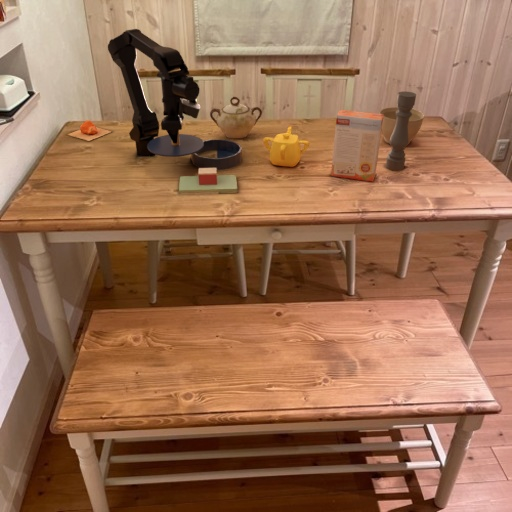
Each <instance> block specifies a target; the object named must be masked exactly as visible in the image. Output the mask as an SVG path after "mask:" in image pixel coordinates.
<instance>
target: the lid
mask: <svg viewBox="0 0 512 512" xmlns="http://www.w3.org/2000/svg"><path fill="white" fill-rule="evenodd" d="M203 141H204V140H203V139H201V137H198V136H195V135H193V134H187V133H186V134H185V133H180V130H178V139H177V143H173V141H172V139H171V138H170V136H169V134H165V135H161V136H158V137H154V139H153V140H151V141H150V142H149V143H148V145H147V147H148V150H149V151H150V152H152V153H154V154H155V156H156V155H157V156H161V157H166V158H167V157H168V158H169V157H170V158H180V157H185V156H191V154H194V153H196V152H198V151H200V150H201V149H202V148H203V147H204V142H203Z"/></svg>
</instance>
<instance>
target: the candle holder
mask: <svg viewBox="0 0 512 512" xmlns="http://www.w3.org/2000/svg"><path fill="white" fill-rule="evenodd" d="M416 99H417V94H416V93H415V92H412V91H399V92H398V93H397V97H396V107H398V111H396V115H397V121H396V126H395V128H394V131H393V133H392V135H391V138H390V144H389V145H390V148H391V149H390V150H389V151H388V155H387V156H386V162H385V168H386V169H388V170H390V171H394V172H400V171H403V170H404V169H405V164H406V153H405V151H404V150H405V149H406V147H408V145H409V144H408V142H409V140H408V122H409V118H410V117H411V116H412V113H411V112H410V111H411V109H414V107H415V104H416Z"/></svg>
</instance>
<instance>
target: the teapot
mask: <svg viewBox="0 0 512 512" xmlns="http://www.w3.org/2000/svg"><path fill="white" fill-rule="evenodd" d="M292 129H293V127H292V126H291V125H289V126H288V127H287V131H286V132H284V133H278V134H276V135H275V136H274V138H273V137H264V138H263V139H262V142H263V145H264V147H265V148H266V149H267V151H269V160H270V163H271V164H272V165H274V166H282V167H290V168H293V167H295V166H296V165H297V164H298V163H299V162H300V160H301V158H302V154H303V153H305V152H306V150H308V148H309V147H310V141H308V140H300V139H299V136H298V135H297V134H292ZM269 142H272V143H271V146H270V144H269ZM301 144H304V146H303V148H302V146H301Z"/></svg>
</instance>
